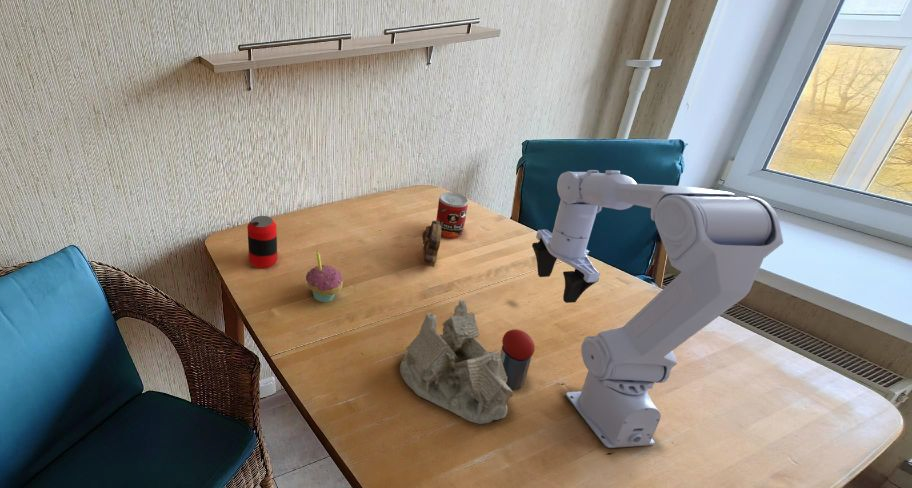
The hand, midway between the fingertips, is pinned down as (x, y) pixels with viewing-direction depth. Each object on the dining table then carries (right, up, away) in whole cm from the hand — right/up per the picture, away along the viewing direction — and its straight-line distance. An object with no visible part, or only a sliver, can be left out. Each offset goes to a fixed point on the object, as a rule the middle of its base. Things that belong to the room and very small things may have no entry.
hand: (556, 288), depth 86 cm
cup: (-13, -14, -7) cm, 21 cm away
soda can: (-60, -2, +28) cm, 66 cm away
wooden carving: (-16, -1, +27) cm, 32 cm away
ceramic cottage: (-25, -15, -8) cm, 30 cm away
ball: (-14, -7, -10) cm, 18 cm away
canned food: (-5, +4, +39) cm, 40 cm away
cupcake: (-45, -7, +15) cm, 48 cm away
